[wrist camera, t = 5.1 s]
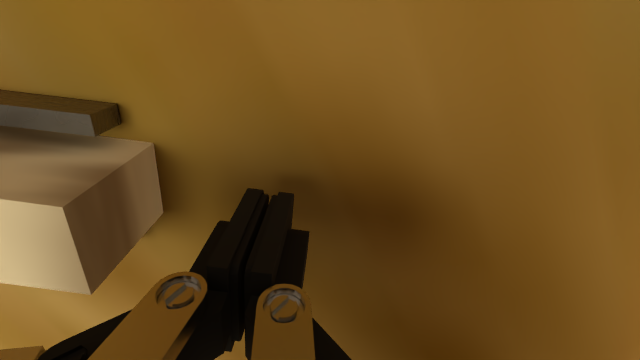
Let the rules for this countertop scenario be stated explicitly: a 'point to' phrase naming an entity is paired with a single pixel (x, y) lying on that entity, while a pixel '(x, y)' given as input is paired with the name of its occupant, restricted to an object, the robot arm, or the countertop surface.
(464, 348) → the countertop surface
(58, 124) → the guide channel
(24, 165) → the beige rectangular block
